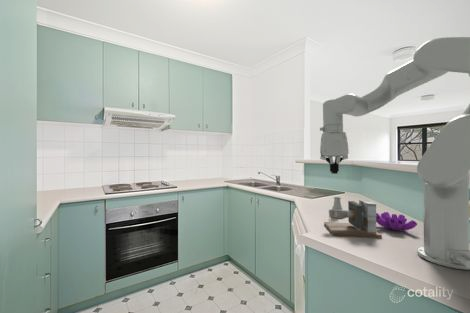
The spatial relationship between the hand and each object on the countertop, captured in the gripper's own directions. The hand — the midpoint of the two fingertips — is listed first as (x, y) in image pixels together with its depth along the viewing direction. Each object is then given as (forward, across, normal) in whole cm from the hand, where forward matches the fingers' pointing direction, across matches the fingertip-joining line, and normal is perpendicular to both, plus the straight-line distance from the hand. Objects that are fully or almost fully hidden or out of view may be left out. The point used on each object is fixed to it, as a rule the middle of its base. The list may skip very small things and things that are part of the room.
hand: (334, 173), depth 88 cm
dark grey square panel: (+21, +8, +1) cm, 23 cm away
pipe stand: (+24, +6, +1) cm, 25 cm away
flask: (+24, +7, +23) cm, 34 cm away
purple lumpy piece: (+24, +24, +7) cm, 35 cm away
